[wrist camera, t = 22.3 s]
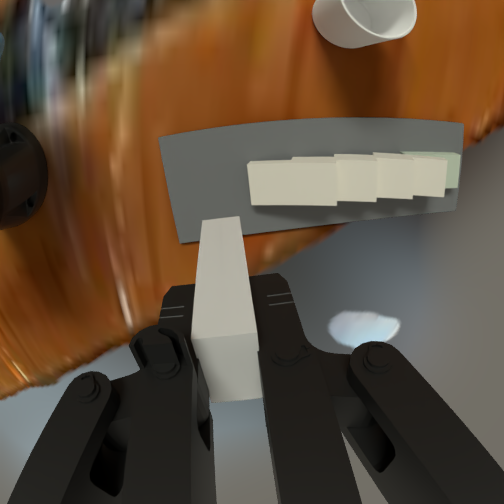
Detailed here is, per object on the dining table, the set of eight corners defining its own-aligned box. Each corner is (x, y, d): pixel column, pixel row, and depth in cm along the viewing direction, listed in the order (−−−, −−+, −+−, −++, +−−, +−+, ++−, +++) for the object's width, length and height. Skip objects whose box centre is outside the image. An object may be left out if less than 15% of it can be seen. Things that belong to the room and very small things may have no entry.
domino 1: (251, 205, 37) (336, 205, 34) (246, 164, 34) (336, 163, 32) (254, 200, 38) (336, 200, 35) (250, 161, 35) (336, 159, 33)
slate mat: (180, 241, 40) (179, 243, 40) (159, 137, 34) (158, 138, 33) (453, 209, 41) (455, 210, 41) (461, 123, 34) (463, 123, 34)
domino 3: (334, 196, 37) (412, 199, 34) (334, 156, 34) (415, 160, 32) (334, 191, 38) (409, 194, 35) (334, 153, 36) (412, 157, 33)
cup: (296, 7, 27) (321, -20, 18) (368, -26, 24) (407, -50, 15) (337, 60, 30) (374, 52, 22) (404, 24, 28) (450, 14, 19)
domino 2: (293, 200, 37) (376, 202, 34) (291, 159, 34) (377, 161, 32) (295, 195, 38) (374, 197, 35) (292, 156, 36) (375, 157, 33)
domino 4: (373, 193, 37) (443, 197, 34) (374, 154, 34) (447, 160, 32) (371, 189, 38) (440, 193, 35) (372, 152, 36) (443, 157, 33)
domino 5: (400, 151, 36) (454, 152, 36) (398, 186, 38) (451, 184, 38) (406, 154, 34) (460, 155, 35) (404, 190, 37) (457, 187, 37)
